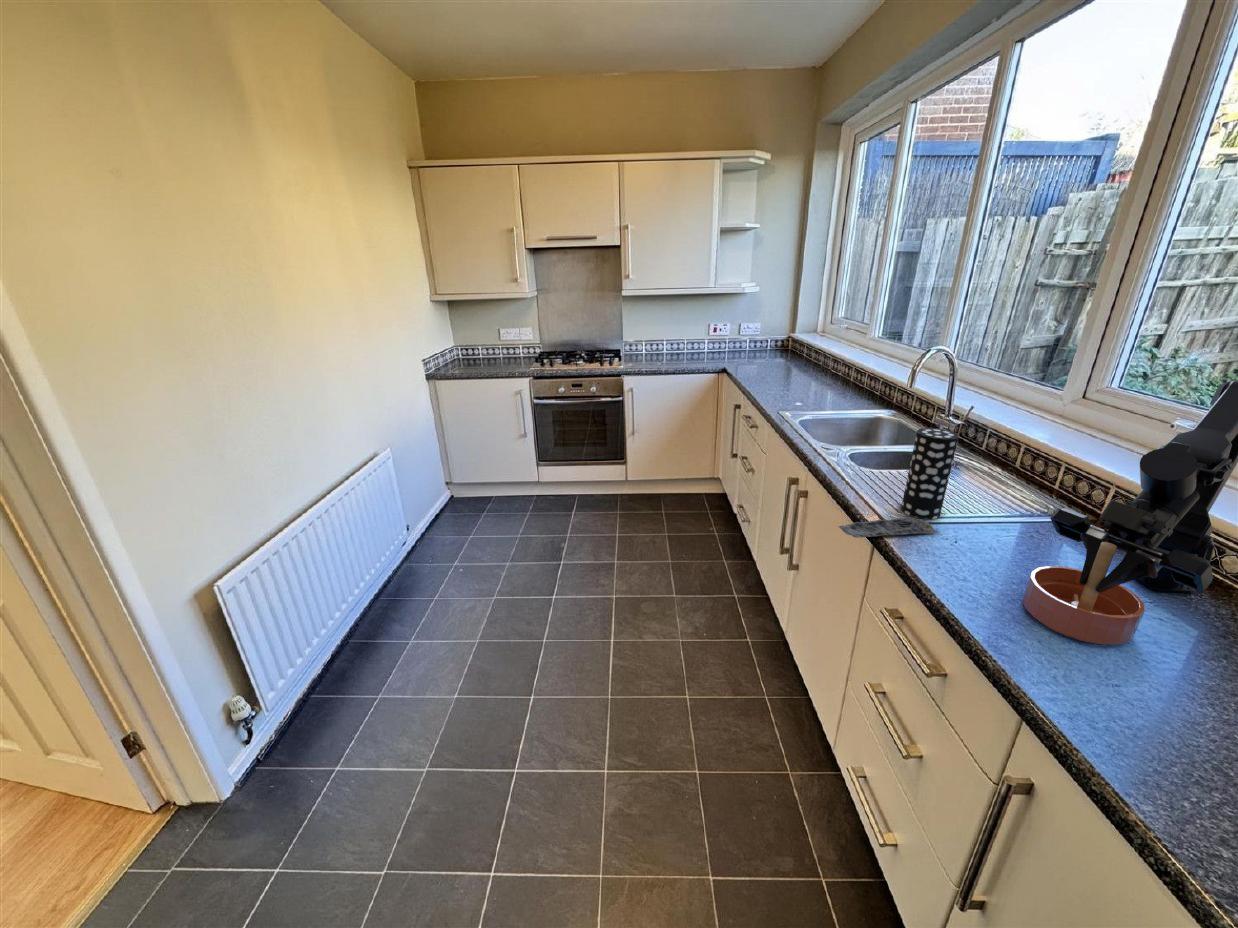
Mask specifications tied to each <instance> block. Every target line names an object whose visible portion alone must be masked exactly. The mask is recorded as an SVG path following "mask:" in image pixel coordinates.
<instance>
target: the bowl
mask: <svg viewBox="0 0 1238 928" xmlns="http://www.w3.org/2000/svg"><path fill="white" fill-rule="evenodd" d="M1082 570H1083V569H1078V568H1074V567H1068V566H1060V565H1045V566H1039V567H1036V568H1035V569H1034V570H1032V571H1031V572H1030V575H1029V578H1028V581H1027V583H1026V587H1025V590H1024V593H1023V595H1022V596H1023V597H1022V601H1021V603H1022V605H1023V607H1024V608H1025V610H1026V611H1027V612H1028V613H1029V614H1030V615H1031V616H1032V617H1033V618H1034V619H1036V621H1038V622H1040V623H1041V624H1042V625H1044V627H1046V628H1048V629H1050V630H1052V631H1054V632H1056V633H1058V634H1061V635H1062V636H1065V637H1067V638H1071V639H1073V640H1076V641H1079V642H1084V643H1089V644H1094V645H1103V646H1104V645H1107V646H1110V645H1111V646H1118V645H1122V644H1127V643H1129V642H1130V641H1131V640H1132V639H1133V638H1134V637H1135V634H1136V632H1137V630H1138V628H1139V625H1140V623H1141V621H1142V618H1143V616H1144V613H1145V612H1146V607H1145V603H1144V602H1143V600H1141V598H1140V597H1139V596H1138V595H1137V594H1136V593H1134V592H1133V591H1131V590H1130V589H1129V588H1127V587H1126V586H1124V585H1123V584H1120V585H1118V586H1116V587H1113V588H1111V589H1108V590H1106V591H1103V592H1101V593H1099V594H1098V597H1097V599H1096V602H1095V604H1094V607H1093V610H1092V611H1089V610H1085V609H1082V608H1079V607H1075V606H1073V605H1071V602H1072V598H1073V596H1074V594H1077V595H1078V600H1080V597H1081V595H1082V592H1083V589H1084V587H1085V584H1084V585H1081V584H1080V582H1079V581H1080V577H1081V574H1082Z"/></svg>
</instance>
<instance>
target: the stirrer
mask: <svg viewBox="0 0 1238 928" xmlns="http://www.w3.org/2000/svg"><path fill="white" fill-rule="evenodd" d="M1116 551H1117V546H1116V545H1114V544H1112V543H1108V542H1102V543H1101V545H1100V547H1099V550H1098V553H1097V555H1096V558H1095V561H1094V563H1093V566H1092V568H1091V571H1090V574H1089V576H1088V579H1087V582H1086V584H1085V587H1084V589H1083V592H1082V595H1081V597H1080V600H1078V595H1077V594H1074V596H1073V598H1072V602H1071V605H1073V606H1075V607H1079V608H1082V609H1085V610H1089V611H1092V610H1093V607H1094V604H1095V602H1096V599H1097V597H1098V594H1099V593H1098V592H1097V591H1096V588H1097V586H1098V585H1099V584H1100V582H1101V581H1102V580H1103V579H1104V578H1105V577H1106V576H1107V575H1108V572H1109V569H1110V567H1111V563H1112V562H1113V559H1114V556H1115V554H1116Z"/></svg>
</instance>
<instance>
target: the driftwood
mask: <svg viewBox="0 0 1238 928" xmlns="http://www.w3.org/2000/svg"><path fill="white" fill-rule="evenodd" d="M838 528H839V529H840V530H841V531H842V532H843V533H844V534H846V535H847V536H851V537H853V538H855V539H859V538H872V537H881V536H896V535H897V536H898V535H900V536H901V535H913V534H915V535H916V534H928V535H929V534H931V535H932V534H936V533H937V531H936V529H934V527H933V525H931V523H929V522H928V521H925V520H924V519H920V518H917V517H904V518H903V517H901V518H899V517H898V518H891V519H877V520H870V521H863V522H862V521H856V522H852V523H849V524H844V525H843V524H842V525H839V526H838Z"/></svg>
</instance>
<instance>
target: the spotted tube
mask: <svg viewBox="0 0 1238 928" xmlns="http://www.w3.org/2000/svg"><path fill="white" fill-rule="evenodd" d="M959 439H960V434H958V433H956V432H954V431H952V430H949V429H944V428H936V427H923V428H922V427H921V428H918V429H917V430H916V433H915V439H914V444H913V449H912V453H911V457H910V463H909V468H908V473H907V477H906V482H905V487H904V492H903V496H902V502H901V507H900V509H901V511H902V512H903V513H904V514H906V515H908V516H911V517H912V518H916V519H921V520H936V519H938V518H940V516H941V513H942V509H943V504H944V502H945V496H946V492H947V489H948V488H947V487H948V484H949V480H950V476H951V472H952V468H953V463H954V459H955V455H956V451H957V447H958V443H959Z"/></svg>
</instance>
